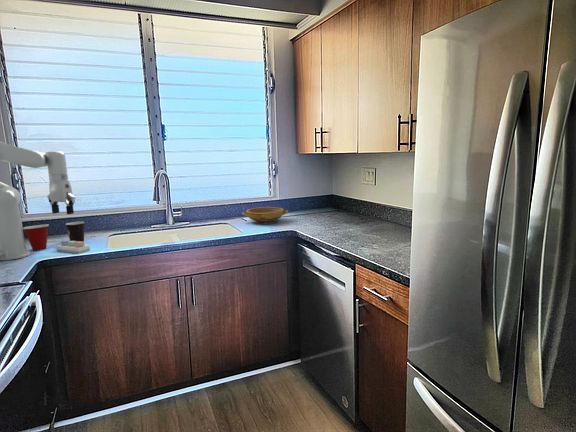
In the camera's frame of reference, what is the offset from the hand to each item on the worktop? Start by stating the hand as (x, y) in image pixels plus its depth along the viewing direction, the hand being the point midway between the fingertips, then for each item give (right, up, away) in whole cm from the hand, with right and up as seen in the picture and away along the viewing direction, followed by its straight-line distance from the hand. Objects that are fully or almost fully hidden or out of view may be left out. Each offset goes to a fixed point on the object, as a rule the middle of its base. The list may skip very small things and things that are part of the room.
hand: (63, 213), depth 177 cm
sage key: (+4, -15, +1) cm, 16 cm away
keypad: (+4, -18, +1) cm, 18 cm away
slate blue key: (0, -15, +2) cm, 15 cm away
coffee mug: (-4, -15, +18) cm, 24 cm away
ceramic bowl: (+94, -5, +59) cm, 111 cm away
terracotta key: (+9, -16, -1) cm, 18 cm away
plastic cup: (-15, -18, +6) cm, 24 cm away
